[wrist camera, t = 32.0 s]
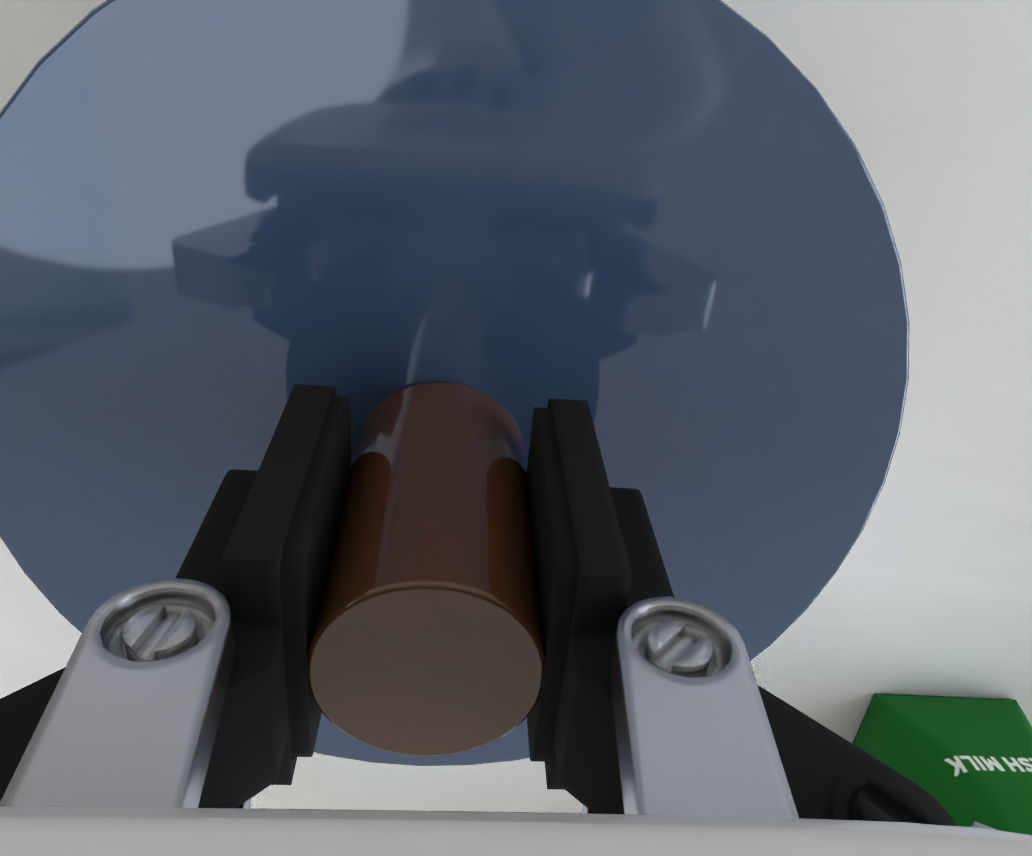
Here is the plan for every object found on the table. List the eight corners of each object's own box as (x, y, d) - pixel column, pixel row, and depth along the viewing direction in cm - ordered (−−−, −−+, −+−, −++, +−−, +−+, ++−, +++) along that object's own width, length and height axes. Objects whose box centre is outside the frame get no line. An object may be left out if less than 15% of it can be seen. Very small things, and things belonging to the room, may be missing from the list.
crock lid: (-141, -166, 10) (-805, -305, 5) (1022, -21, 11) (1486, -8, 6) (62, 706, 17) (-113, 1026, 12) (755, 731, 18) (864, 1027, 13)
